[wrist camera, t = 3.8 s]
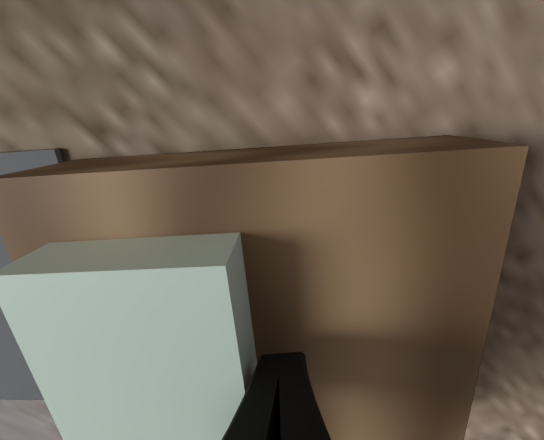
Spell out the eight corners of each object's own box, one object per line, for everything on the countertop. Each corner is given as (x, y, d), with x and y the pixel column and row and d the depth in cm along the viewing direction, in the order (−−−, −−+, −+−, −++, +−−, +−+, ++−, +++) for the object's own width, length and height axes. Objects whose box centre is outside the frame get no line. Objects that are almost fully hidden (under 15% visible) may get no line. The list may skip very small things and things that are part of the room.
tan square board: (447, 135, 11) (529, 145, 7) (414, 390, 15) (454, 480, 12) (74, 159, 12) (-23, 179, 8) (142, 389, 17) (98, 469, 13)
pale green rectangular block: (240, 232, 8) (225, 265, 7) (267, 442, 11) (262, 506, 10) (49, 242, 9) (-15, 276, 7) (123, 440, 12) (92, 501, 10)
